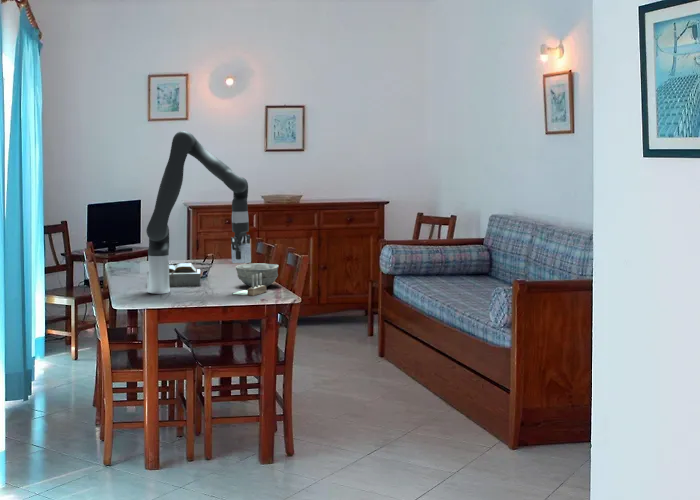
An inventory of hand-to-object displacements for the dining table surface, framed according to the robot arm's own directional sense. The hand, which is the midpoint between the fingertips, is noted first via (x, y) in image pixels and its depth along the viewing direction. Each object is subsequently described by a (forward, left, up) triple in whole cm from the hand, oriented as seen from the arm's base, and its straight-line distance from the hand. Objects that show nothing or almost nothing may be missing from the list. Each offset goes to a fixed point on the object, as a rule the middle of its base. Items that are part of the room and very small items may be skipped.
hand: (241, 258), depth 412 cm
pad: (+2, 0, -16) cm, 16 cm away
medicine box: (0, 0, -2) cm, 2 cm away
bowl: (-3, +20, -16) cm, 25 cm away
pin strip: (+8, 0, -16) cm, 18 cm away
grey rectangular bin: (-44, +11, -16) cm, 48 cm away
